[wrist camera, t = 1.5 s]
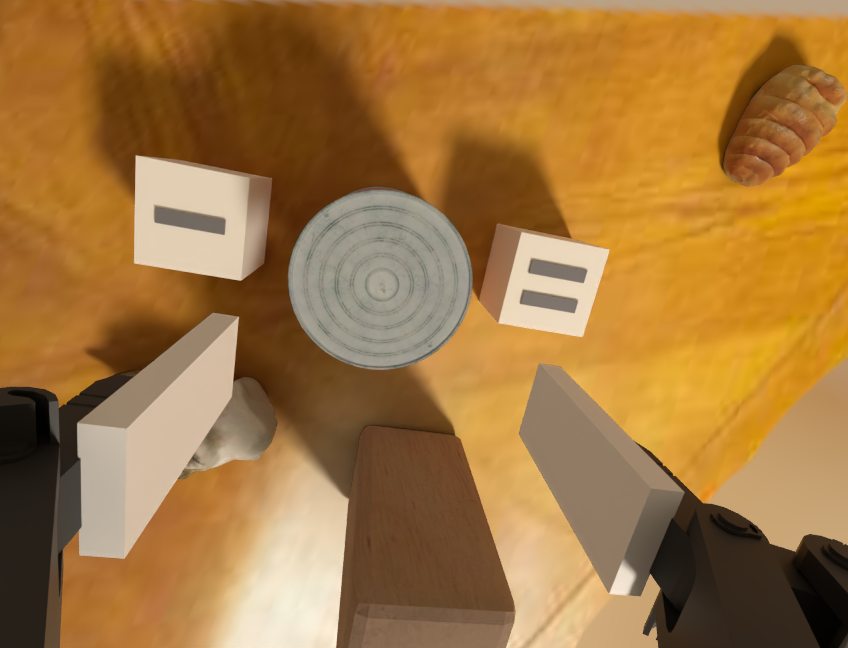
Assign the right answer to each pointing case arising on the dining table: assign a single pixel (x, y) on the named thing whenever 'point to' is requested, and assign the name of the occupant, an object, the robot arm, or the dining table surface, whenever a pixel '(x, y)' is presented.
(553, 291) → the marked cube 1
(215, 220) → the marked cube 2
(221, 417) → the ceramic sculpture
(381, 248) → the canned food
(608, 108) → the dining table surface
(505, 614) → the block
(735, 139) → the pastry
